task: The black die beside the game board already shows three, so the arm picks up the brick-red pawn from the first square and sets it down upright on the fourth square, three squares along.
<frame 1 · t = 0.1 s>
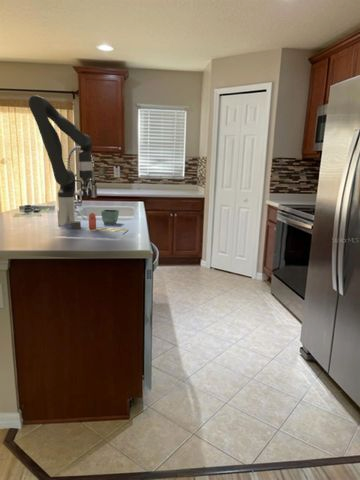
hand: (87, 197, 209), 17 cm above the countertop, tool pointing down, fingers open, 8 cm apart
die: (76, 230, 199), on the countertop
flower pot: (110, 225, 218), on the countertop
board: (106, 231, 198), on the countertop
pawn: (92, 228, 198), point 1 cm above the countertop, touching board
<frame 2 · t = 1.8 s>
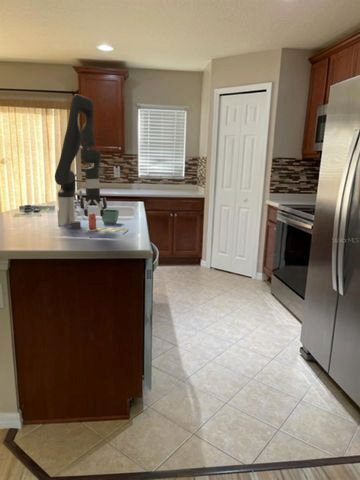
hand: (94, 216, 197), 8 cm above the countertop, tool pointing down, fingers open, 8 cm apart
nothing on the countertop moved.
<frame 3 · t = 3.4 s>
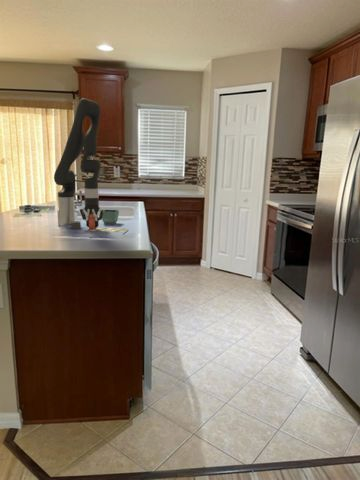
hand: (92, 227, 198), 2 cm above the countertop, tool pointing down, fingers closed on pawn, 4 cm apart
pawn: (92, 228, 198), point 1 cm above the countertop, touching board, gripper
everything else where it was.
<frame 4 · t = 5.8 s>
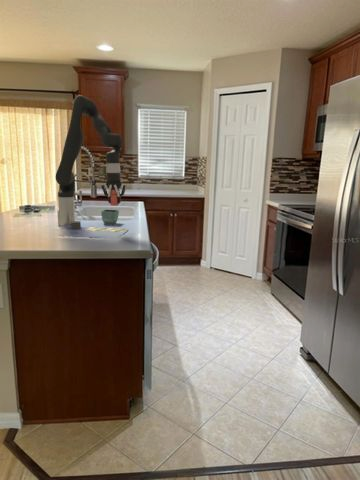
hand: (114, 203, 194), 16 cm above the countertop, tool pointing down, fingers closed on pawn, 4 cm apart
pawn: (114, 205, 194), point 15 cm above the countertop, touching gripper
everything else where it was.
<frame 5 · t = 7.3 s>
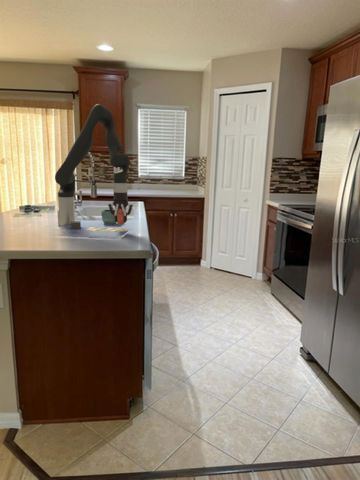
hand: (120, 222, 196), 6 cm above the countertop, tool pointing down, fingers closed on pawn, 4 cm apart
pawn: (120, 223, 196), point 5 cm above the countertop, touching gripper
everything else where it was.
when the fingers open (4 cm above the countertop, at t = 8.4 s): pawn drops 1 cm, resting on board.
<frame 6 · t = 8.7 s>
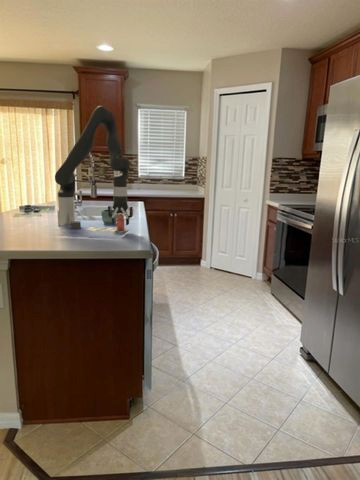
hand: (120, 224, 196), 4 cm above the countertop, tool pointing down, fingers open, 6 cm apart
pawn: (120, 230, 197), point 1 cm above the countertop, touching board
everything else where it was.
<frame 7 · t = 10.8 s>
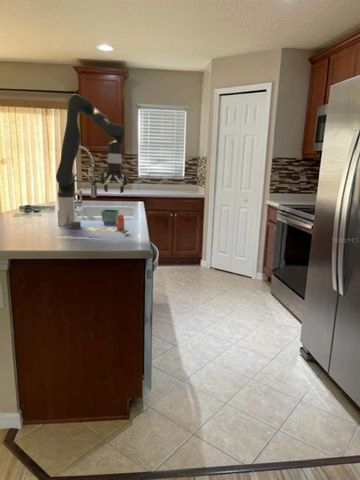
hand: (114, 192, 194), 22 cm above the countertop, tool pointing down, fingers open, 8 cm apart
nothing on the countertop moved.
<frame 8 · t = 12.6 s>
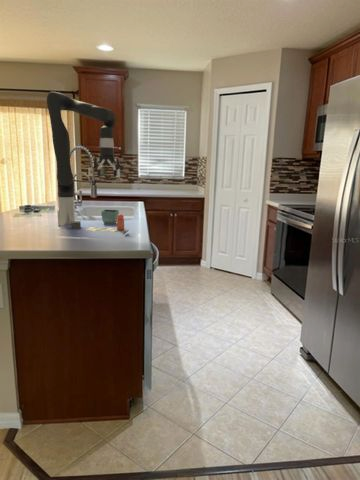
hand: (107, 176, 197), 30 cm above the countertop, tool pointing down, fingers open, 8 cm apart
nothing on the countertop moved.
at the end: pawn 0.0 cm from the target spot on the board, point 1.2 cm above the board's base; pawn tilted 1°; the gripper is holding nothing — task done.
